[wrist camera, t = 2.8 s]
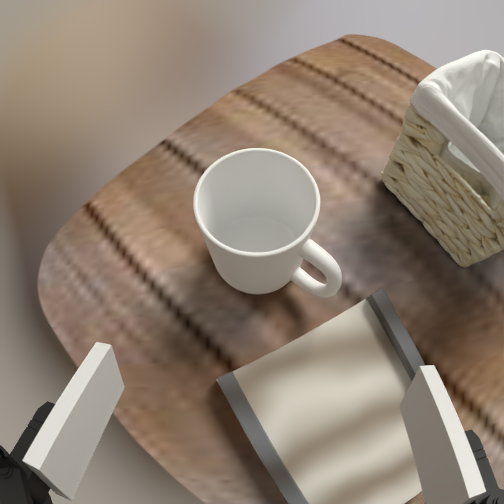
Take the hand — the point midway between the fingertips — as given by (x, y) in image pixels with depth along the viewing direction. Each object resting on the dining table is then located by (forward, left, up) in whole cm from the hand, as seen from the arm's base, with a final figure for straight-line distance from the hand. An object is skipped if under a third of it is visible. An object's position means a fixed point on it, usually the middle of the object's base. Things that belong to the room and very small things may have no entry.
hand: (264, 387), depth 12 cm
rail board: (-8, -5, -14) cm, 17 cm away
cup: (+9, -6, -15) cm, 18 cm away
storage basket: (+7, -33, -15) cm, 36 cm away
